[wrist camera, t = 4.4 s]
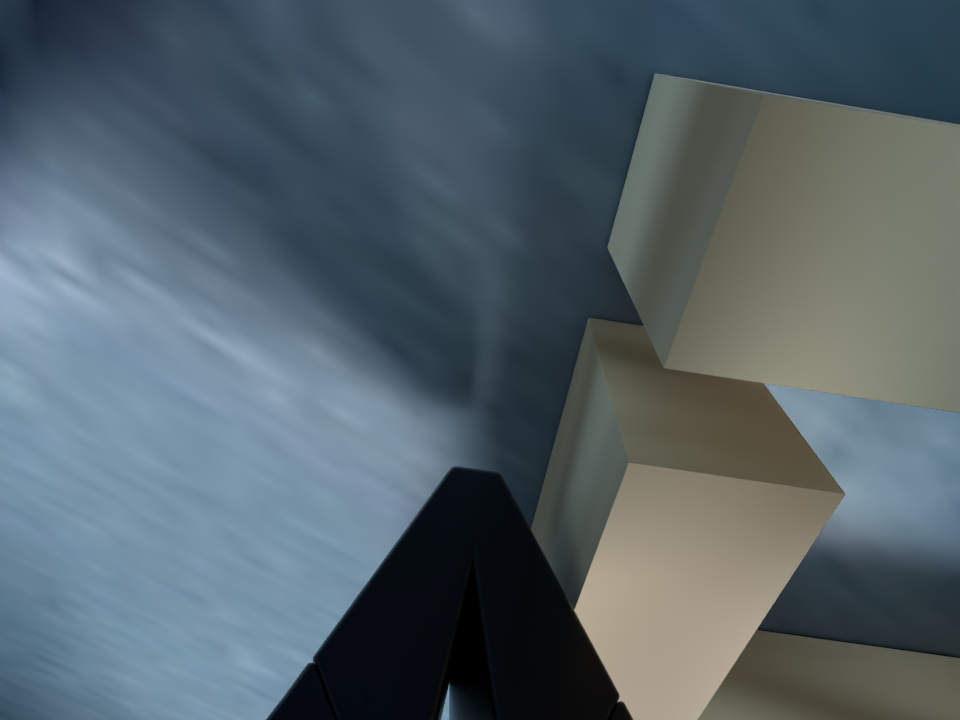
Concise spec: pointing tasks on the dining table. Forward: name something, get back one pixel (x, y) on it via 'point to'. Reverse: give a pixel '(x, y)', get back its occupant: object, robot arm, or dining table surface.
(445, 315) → the dining table surface
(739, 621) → the beech collar
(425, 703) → the robot arm
